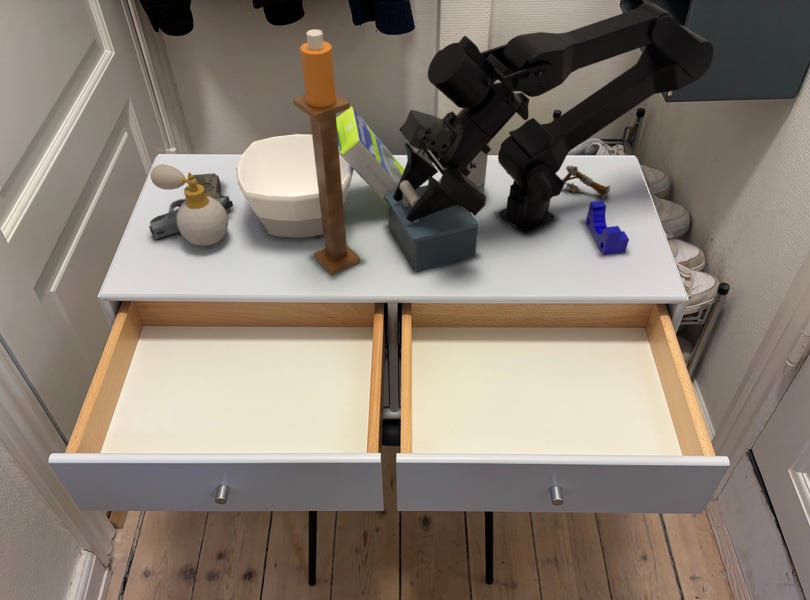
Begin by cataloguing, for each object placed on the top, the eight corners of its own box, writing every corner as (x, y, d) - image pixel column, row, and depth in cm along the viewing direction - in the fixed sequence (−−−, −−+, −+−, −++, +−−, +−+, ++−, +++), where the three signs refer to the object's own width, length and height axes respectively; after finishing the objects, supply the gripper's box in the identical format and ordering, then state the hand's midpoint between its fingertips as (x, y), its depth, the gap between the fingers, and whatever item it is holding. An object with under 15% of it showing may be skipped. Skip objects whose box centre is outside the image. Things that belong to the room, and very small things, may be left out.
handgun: (130, 190, 108) (151, 229, 100) (212, 166, 112) (237, 202, 105) (135, 203, 109) (155, 242, 102) (216, 179, 114) (240, 215, 107)
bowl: (356, 181, 113) (352, 130, 106) (359, 247, 101) (355, 194, 94) (251, 186, 112) (240, 135, 105) (241, 253, 100) (229, 200, 93)
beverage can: (436, 203, 109) (439, 136, 100) (448, 180, 113) (452, 114, 104) (477, 211, 107) (484, 143, 98) (487, 187, 112) (495, 121, 103)
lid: (412, 243, 93) (412, 215, 90) (384, 199, 100) (383, 171, 97) (478, 227, 96) (481, 199, 92) (445, 185, 103) (447, 157, 99)
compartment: (416, 271, 97) (416, 243, 93) (388, 227, 105) (388, 198, 101) (475, 256, 100) (478, 227, 96) (444, 213, 107) (445, 185, 103)
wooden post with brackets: (554, 180, 111) (570, 160, 108) (594, 204, 112) (611, 184, 109) (552, 186, 110) (568, 165, 107) (593, 210, 111) (610, 191, 108)
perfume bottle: (230, 252, 100) (213, 184, 91) (165, 257, 100) (141, 189, 91) (233, 222, 105) (217, 155, 96) (171, 227, 105) (149, 159, 96)
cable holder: (625, 252, 100) (631, 231, 97) (602, 254, 100) (608, 233, 97) (606, 220, 105) (612, 199, 102) (585, 222, 105) (590, 201, 102)
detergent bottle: (325, 90, 82) (319, 23, 76) (341, 101, 80) (336, 33, 74) (300, 99, 81) (292, 31, 75) (316, 110, 79) (309, 42, 73)
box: (419, 207, 104) (351, 129, 93) (398, 221, 106) (329, 147, 94) (408, 170, 111) (343, 94, 100) (388, 184, 113) (322, 110, 101)
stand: (341, 245, 102) (327, 87, 83) (360, 262, 99) (349, 102, 80) (314, 258, 100) (292, 98, 81) (332, 275, 97) (314, 114, 78)
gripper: (412, 60, 90) (341, 149, 96) (471, 126, 79) (386, 222, 84) (461, 105, 98) (393, 185, 104) (521, 170, 86) (440, 256, 92)
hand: (401, 209), depth 96 cm, fingers closed on lid, 5 cm apart
